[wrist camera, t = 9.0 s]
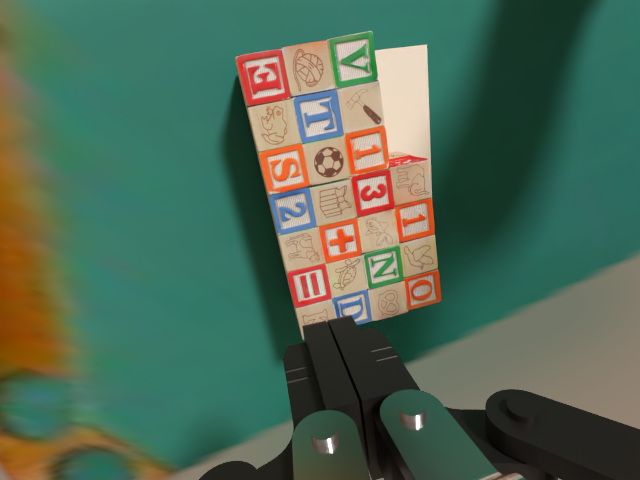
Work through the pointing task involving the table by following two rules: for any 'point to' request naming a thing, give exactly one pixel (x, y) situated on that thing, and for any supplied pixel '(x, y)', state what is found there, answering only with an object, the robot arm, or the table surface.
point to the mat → (405, 99)
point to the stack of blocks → (339, 183)
